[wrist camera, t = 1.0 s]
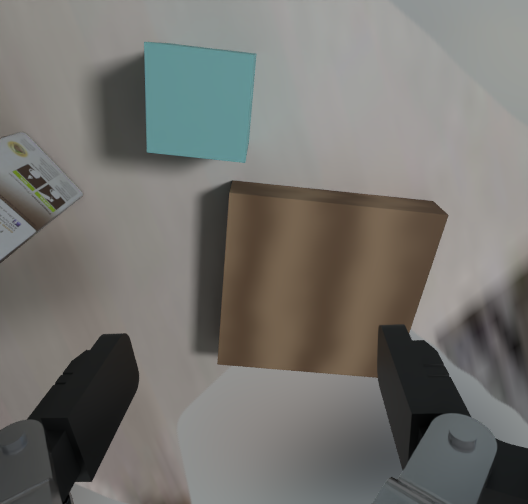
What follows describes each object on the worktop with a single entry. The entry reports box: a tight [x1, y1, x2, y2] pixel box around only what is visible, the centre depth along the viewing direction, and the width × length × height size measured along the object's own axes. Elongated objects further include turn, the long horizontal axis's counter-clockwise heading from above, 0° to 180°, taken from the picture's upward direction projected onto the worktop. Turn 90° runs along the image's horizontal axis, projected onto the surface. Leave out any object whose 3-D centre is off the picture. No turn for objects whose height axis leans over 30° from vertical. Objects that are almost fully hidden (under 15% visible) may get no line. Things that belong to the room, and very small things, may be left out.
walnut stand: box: [217, 181, 448, 378], centre depth 34 cm, size 16×16×3 cm
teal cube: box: [144, 42, 256, 163], centre depth 26 cm, size 6×6×6 cm
